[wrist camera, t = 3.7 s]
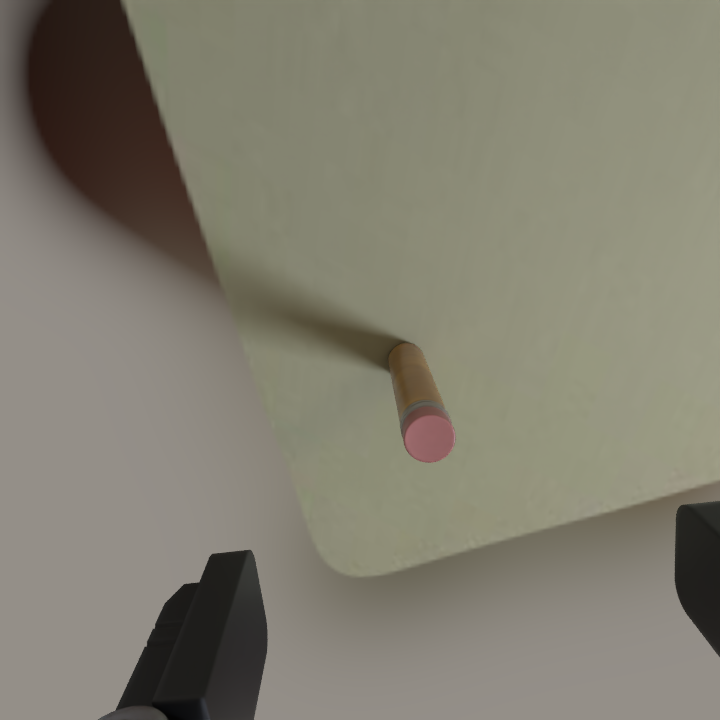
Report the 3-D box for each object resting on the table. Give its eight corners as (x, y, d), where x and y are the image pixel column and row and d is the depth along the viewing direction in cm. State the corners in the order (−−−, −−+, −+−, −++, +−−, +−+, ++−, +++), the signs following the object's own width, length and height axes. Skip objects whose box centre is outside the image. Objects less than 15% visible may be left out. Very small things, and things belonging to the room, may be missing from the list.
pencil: (389, 379, 28) (405, 466, 19) (386, 344, 27) (401, 416, 19) (425, 375, 28) (457, 461, 19) (423, 340, 27) (455, 412, 19)
